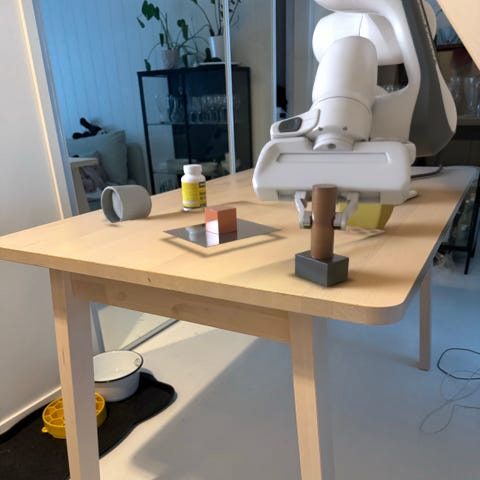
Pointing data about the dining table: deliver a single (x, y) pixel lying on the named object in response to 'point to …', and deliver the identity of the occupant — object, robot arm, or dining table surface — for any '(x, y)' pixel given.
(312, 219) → the mallet with wooden handle
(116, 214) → the ceramic mug
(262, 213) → the dining table surface
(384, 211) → the flower pot
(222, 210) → the terracotta orange cube
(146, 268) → the dining table surface
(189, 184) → the supplement bottle
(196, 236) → the polished metal plate
